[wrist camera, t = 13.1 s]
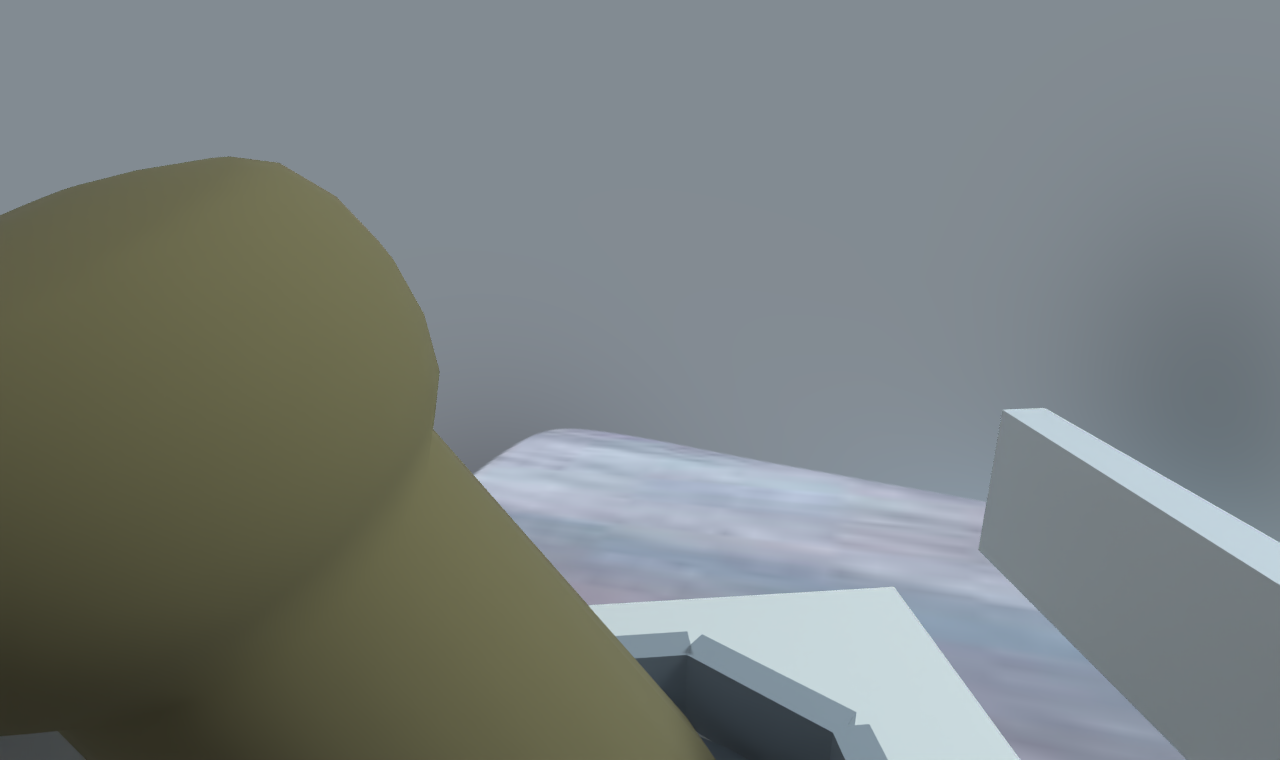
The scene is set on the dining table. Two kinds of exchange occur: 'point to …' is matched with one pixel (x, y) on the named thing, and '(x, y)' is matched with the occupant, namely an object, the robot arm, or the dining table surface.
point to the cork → (265, 502)
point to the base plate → (808, 677)
